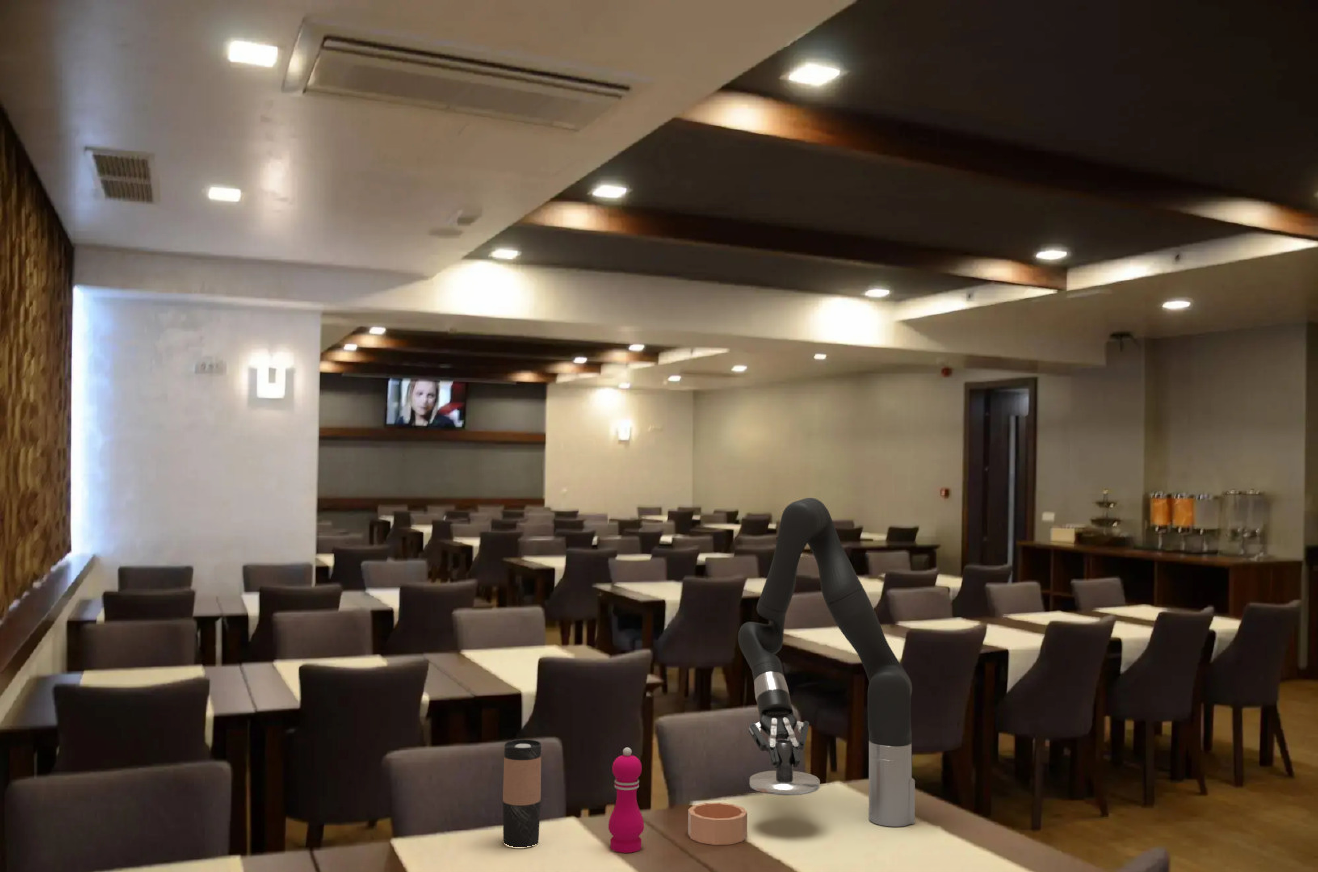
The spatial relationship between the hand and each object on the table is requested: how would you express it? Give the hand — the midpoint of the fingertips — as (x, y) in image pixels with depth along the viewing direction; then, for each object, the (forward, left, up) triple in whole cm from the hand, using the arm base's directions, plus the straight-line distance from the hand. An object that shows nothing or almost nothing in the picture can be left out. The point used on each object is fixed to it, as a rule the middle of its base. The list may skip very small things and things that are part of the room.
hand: (786, 765), depth 226 cm
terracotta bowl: (+15, +1, -14) cm, 21 cm away
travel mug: (+56, +2, -14) cm, 58 cm away
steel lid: (0, -2, -5) cm, 5 cm away
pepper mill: (+35, +7, -14) cm, 39 cm away
